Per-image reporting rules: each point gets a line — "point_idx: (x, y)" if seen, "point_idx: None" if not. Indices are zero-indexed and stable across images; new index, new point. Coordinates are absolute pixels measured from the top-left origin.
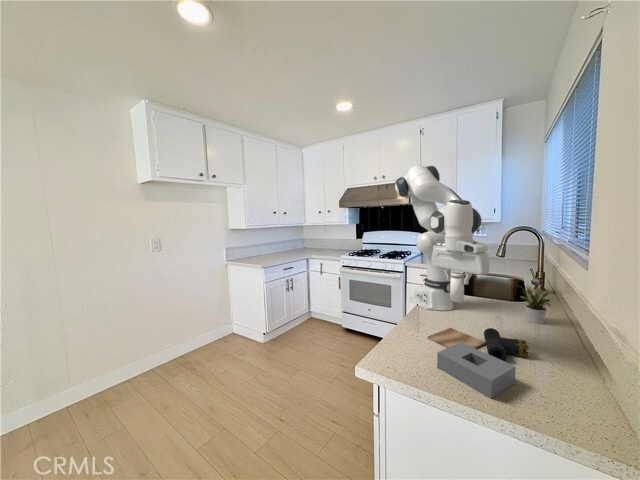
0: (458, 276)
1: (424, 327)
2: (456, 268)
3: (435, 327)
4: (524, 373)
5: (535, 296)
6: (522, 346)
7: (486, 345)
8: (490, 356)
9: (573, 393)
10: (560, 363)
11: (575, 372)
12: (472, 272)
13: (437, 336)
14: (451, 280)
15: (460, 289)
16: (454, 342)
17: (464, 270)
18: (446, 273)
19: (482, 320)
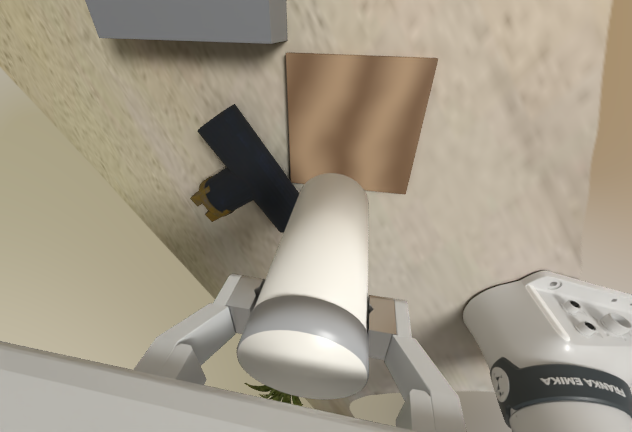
0: (255, 321)
1: (490, 136)
2: (243, 429)
3: (453, 168)
4: (166, 108)
5: (277, 394)
6: (199, 191)
7: (264, 149)
8: (161, 30)
9: (92, 111)
10: (176, 209)
11: (147, 195)
12: (52, 367)
13: (407, 94)
14: (337, 278)
15: (282, 238)
16: (342, 103)
17: (137, 395)
18: (420, 363)
19: (369, 293)
